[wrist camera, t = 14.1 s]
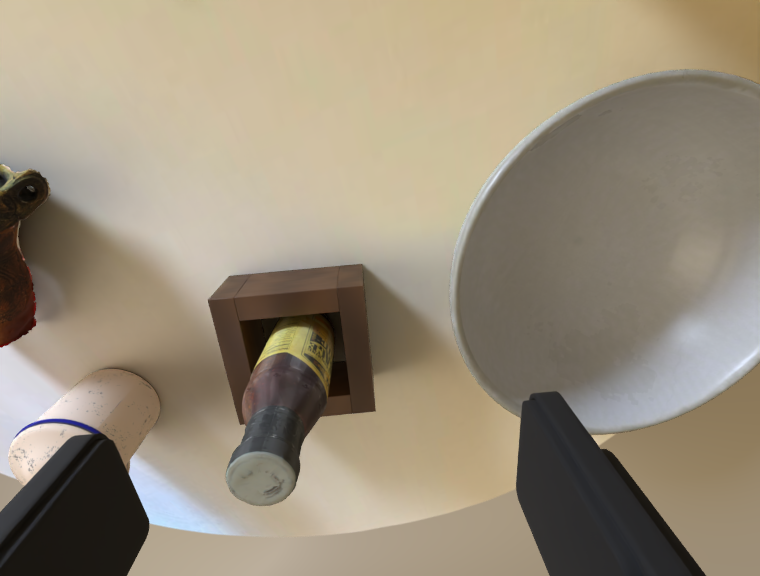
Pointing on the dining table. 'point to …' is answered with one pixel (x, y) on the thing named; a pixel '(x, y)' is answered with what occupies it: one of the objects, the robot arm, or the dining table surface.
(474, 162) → the dining table surface
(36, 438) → the teacup with lid
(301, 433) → the sauce bottle
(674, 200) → the decorative bowl
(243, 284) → the holder
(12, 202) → the pot
